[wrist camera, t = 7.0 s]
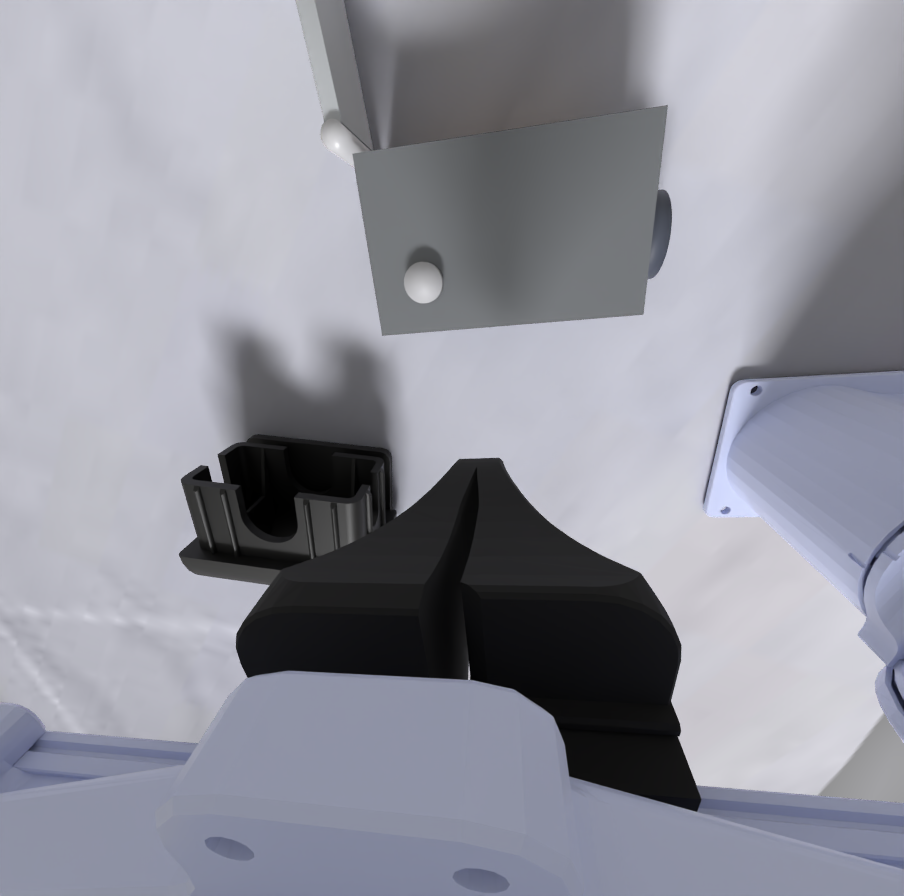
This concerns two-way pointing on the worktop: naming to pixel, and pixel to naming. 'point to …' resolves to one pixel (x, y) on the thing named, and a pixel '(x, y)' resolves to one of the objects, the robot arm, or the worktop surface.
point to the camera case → (517, 224)
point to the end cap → (283, 505)
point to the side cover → (335, 77)
